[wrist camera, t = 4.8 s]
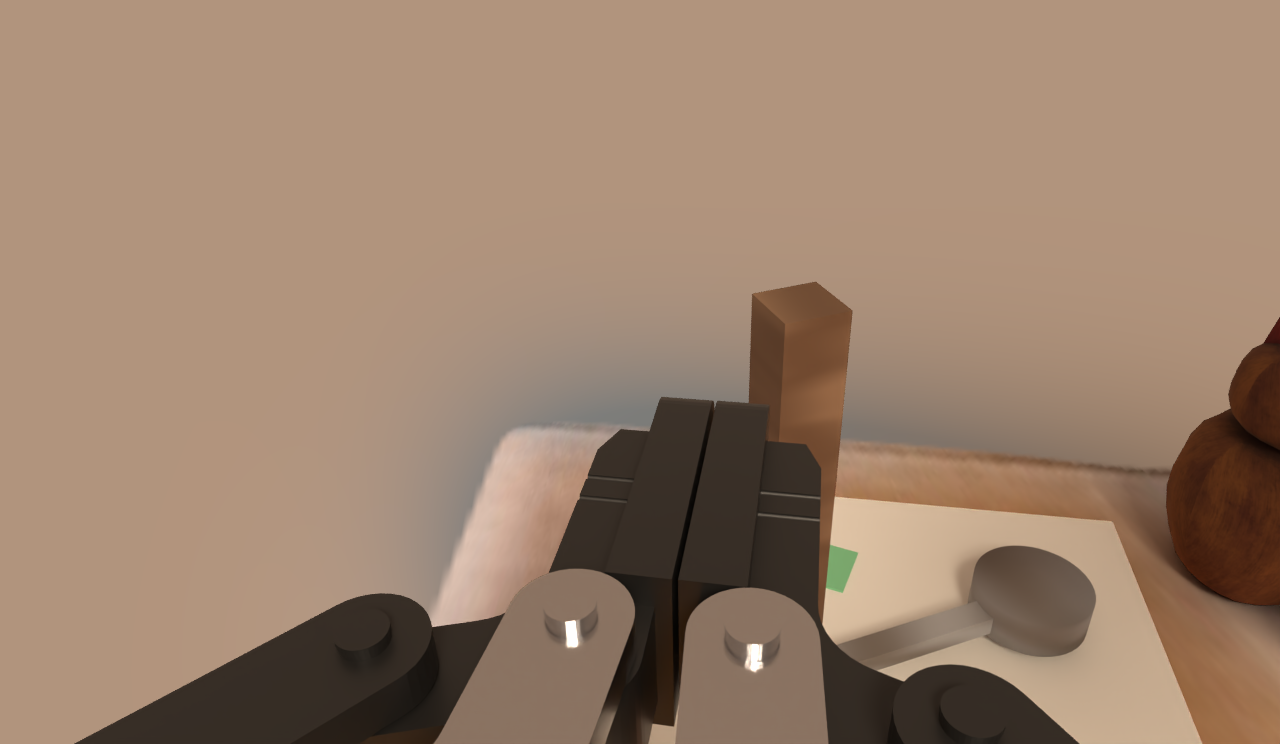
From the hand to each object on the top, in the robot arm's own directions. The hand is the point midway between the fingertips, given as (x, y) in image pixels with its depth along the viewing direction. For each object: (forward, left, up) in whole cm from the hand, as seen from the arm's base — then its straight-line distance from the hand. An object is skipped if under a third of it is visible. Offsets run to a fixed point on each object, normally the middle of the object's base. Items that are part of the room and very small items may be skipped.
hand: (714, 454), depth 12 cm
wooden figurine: (-21, -24, -22) cm, 38 cm away
